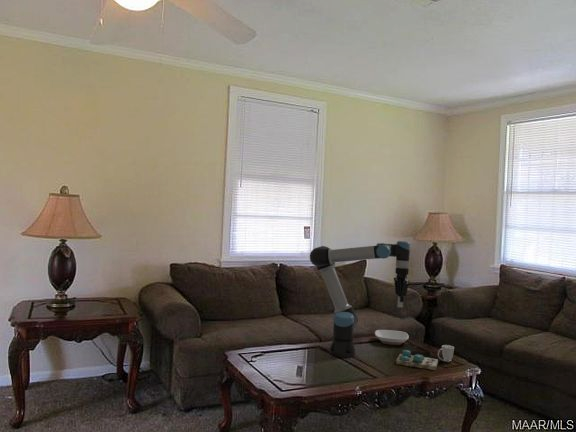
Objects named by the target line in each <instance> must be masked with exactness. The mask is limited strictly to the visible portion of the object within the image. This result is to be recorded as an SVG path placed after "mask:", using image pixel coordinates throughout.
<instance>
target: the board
mask: <svg viewBox="0 0 576 432" xmlns="http://www.w3.org/2000/svg"><path fill="white" fill-rule="evenodd" d="M401 356H402V353H399V355H398V356H397V358H396V360H395V364H396V365H401V366H407V367H412V368H413V367H415V368H420V369H425V370H431V371H436V370H437V367H438V364H439V358H432V357H425V356H423V360H422V362H421V363H416V362H414V361H413V357H414V355H413V354H410V357H409V362H408V361H401V360H400V359H401Z"/></svg>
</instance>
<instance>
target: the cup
mask: <svg viewBox="0 0 576 432" xmlns="http://www.w3.org/2000/svg"><path fill="white" fill-rule="evenodd" d="M441 351H442V352H441ZM454 351H455V347H454V346H453V345H450V344H443V345H441V348H439V349H438V352H437V357H438V359H439V360H441V361H443V362H447V363H450V361H451V362H452V359H453V357H454ZM440 352H441V353H442V357H443V359H442V358H441V357H440Z"/></svg>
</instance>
